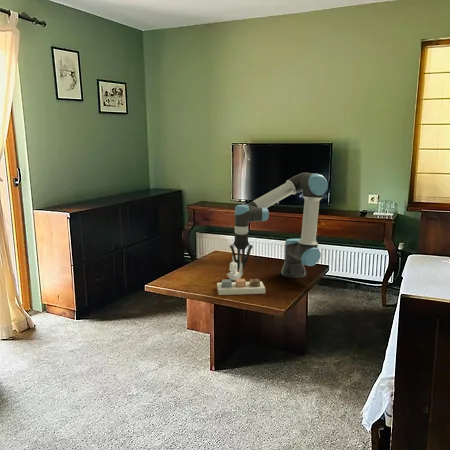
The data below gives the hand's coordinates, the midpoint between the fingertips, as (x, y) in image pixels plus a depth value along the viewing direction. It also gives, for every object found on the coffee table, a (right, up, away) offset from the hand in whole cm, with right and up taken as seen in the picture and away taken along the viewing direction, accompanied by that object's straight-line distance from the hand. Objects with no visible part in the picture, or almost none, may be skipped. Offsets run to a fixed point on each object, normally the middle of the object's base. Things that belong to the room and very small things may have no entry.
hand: (240, 274), depth 250 cm
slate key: (-8, -8, +1) cm, 11 cm away
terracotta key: (0, -8, +2) cm, 8 cm away
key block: (0, -10, +2) cm, 10 cm away
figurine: (-3, -6, +22) cm, 22 cm away
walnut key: (+8, -8, +2) cm, 11 cm away
